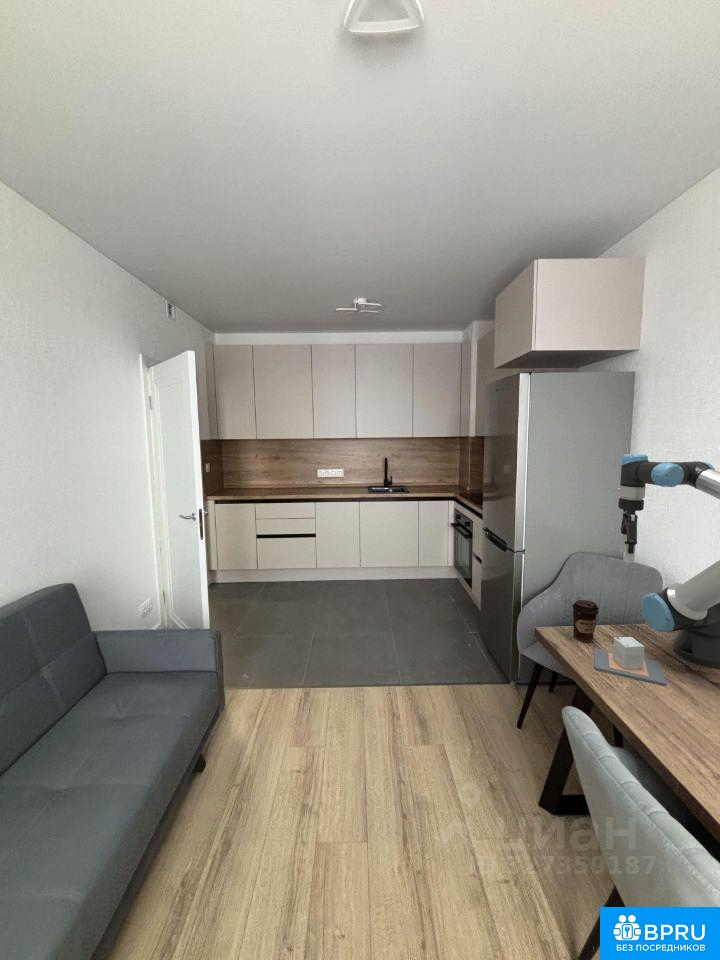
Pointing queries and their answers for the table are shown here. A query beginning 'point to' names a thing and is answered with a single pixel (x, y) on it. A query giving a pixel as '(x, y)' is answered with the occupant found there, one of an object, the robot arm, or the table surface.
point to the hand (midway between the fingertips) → (626, 556)
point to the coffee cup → (584, 620)
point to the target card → (647, 674)
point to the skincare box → (628, 653)
